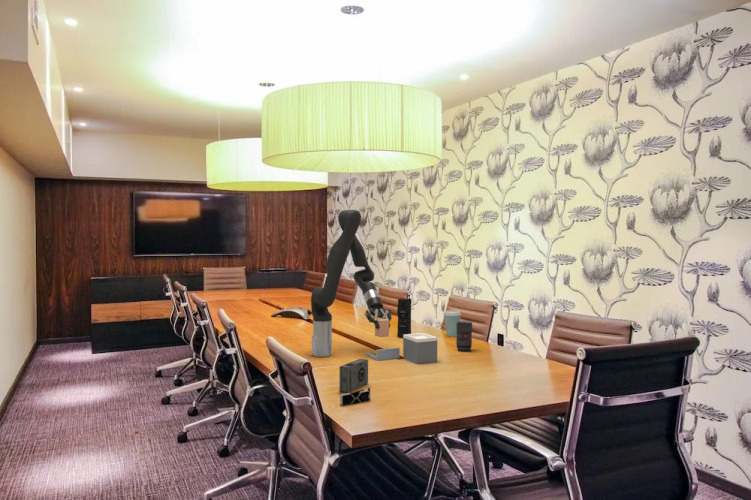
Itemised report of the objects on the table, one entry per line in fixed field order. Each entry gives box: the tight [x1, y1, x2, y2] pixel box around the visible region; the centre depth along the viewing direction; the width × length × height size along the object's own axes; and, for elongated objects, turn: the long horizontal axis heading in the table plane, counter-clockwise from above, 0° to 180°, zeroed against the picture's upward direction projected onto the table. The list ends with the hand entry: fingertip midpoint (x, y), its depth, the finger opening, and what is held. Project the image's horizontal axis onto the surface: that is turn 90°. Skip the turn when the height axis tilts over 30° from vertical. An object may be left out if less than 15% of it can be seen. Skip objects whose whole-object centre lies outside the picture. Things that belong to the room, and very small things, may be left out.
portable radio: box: [396, 294, 413, 339], centre depth 314 cm, size 8×6×25 cm
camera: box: [338, 358, 369, 394], centre depth 207 cm, size 16×4×10 cm, turn 151°
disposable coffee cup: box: [443, 309, 462, 338], centre depth 319 cm, size 11×11×15 cm
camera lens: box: [455, 320, 473, 353], centre depth 277 cm, size 8×8×15 cm
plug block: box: [374, 318, 390, 338], centre depth 262 cm, size 5×5×8 cm
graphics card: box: [339, 386, 371, 407], centre depth 189 cm, size 12×3×5 cm, turn 122°
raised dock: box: [402, 332, 438, 365], centre depth 255 cm, size 11×13×12 cm
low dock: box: [365, 347, 401, 362], centre depth 262 cm, size 12×12×5 cm
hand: (383, 328), depth 260 cm, fingers closed on plug block, 5 cm apart
